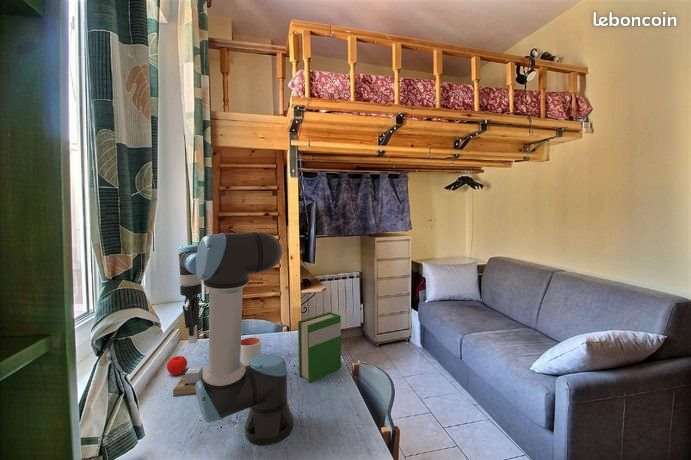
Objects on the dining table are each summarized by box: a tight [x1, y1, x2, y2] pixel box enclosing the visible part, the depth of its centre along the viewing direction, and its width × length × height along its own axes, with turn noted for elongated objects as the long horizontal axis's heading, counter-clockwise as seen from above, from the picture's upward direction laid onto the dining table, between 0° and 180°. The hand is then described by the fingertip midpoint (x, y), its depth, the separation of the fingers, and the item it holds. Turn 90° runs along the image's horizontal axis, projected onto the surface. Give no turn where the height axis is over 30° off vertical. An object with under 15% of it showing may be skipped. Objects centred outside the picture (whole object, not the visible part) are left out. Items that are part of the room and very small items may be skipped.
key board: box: [172, 375, 203, 397], centre depth 127 cm, size 11×28×2 cm, turn 99°
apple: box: [166, 355, 188, 376], centre depth 137 cm, size 8×8×7 cm
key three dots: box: [185, 365, 204, 384], centre depth 125 cm, size 5×5×4 cm
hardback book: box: [297, 311, 342, 384], centre depth 136 cm, size 18×7×24 cm, turn 133°
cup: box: [240, 337, 262, 366], centre depth 146 cm, size 10×10×10 cm
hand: (193, 342), depth 125 cm, fingers closed
